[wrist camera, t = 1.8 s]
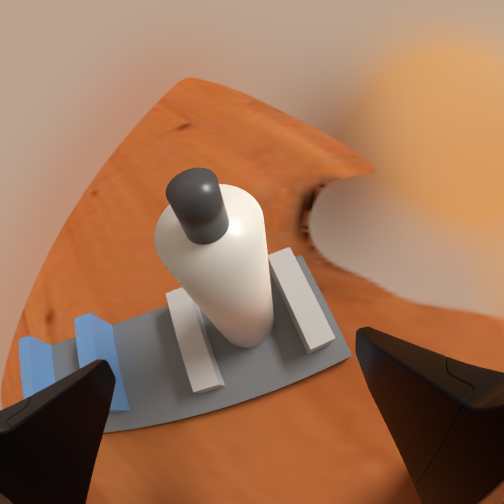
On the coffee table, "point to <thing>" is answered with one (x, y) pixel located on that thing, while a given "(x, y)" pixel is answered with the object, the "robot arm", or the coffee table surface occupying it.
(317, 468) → the coffee table surface
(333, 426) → the coffee table surface
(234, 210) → the bottle
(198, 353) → the slotted divider tray
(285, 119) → the coffee table surface
